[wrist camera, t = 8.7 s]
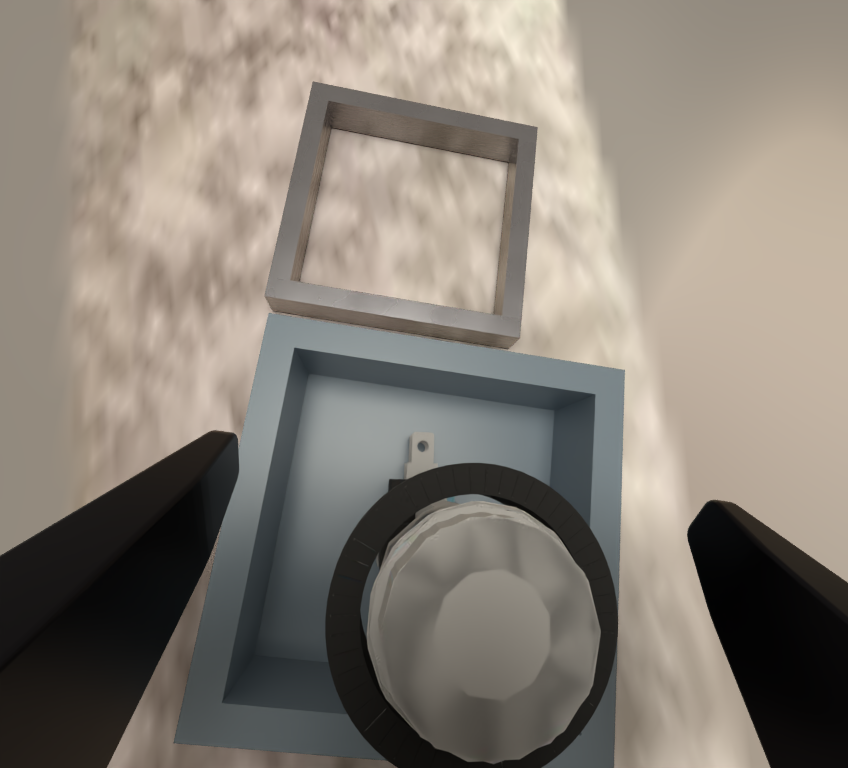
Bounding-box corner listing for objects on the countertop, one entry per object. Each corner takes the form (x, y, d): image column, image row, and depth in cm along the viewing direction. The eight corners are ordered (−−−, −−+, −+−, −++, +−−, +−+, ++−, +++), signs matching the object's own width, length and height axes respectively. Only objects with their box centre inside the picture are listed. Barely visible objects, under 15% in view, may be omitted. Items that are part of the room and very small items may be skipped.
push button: (351, 433, 17) (339, 373, 8) (487, 439, 18) (634, 392, 8) (338, 623, 16) (304, 848, 6) (486, 621, 17) (664, 822, 7)
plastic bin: (556, 710, 17) (613, 779, 13) (222, 678, 16) (173, 743, 12) (573, 392, 19) (624, 370, 15) (290, 348, 18) (268, 313, 14)
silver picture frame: (508, 348, 19) (519, 337, 18) (272, 310, 19) (264, 296, 17) (526, 151, 22) (537, 127, 20) (316, 109, 21) (313, 81, 19)
